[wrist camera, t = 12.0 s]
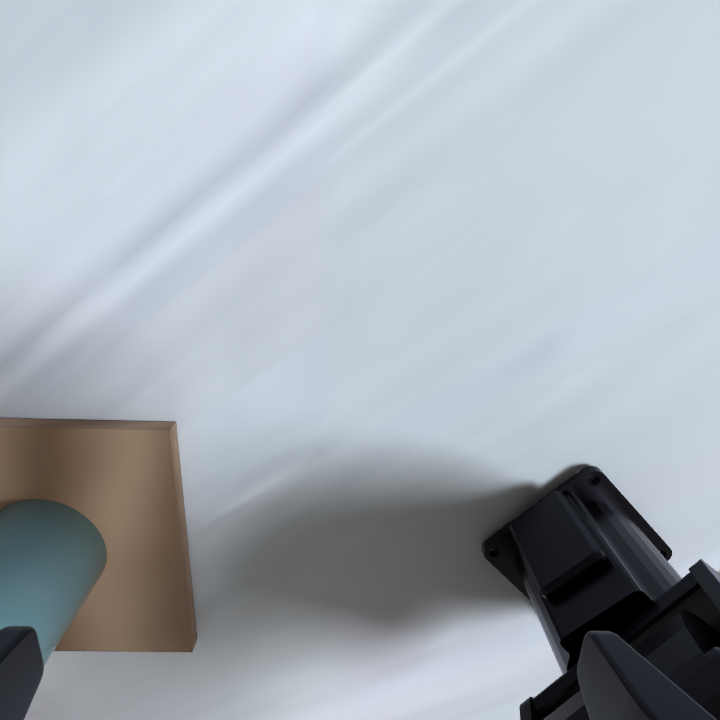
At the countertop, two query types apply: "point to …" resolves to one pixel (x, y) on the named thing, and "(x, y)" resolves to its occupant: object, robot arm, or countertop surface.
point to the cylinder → (46, 567)
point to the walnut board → (114, 523)
